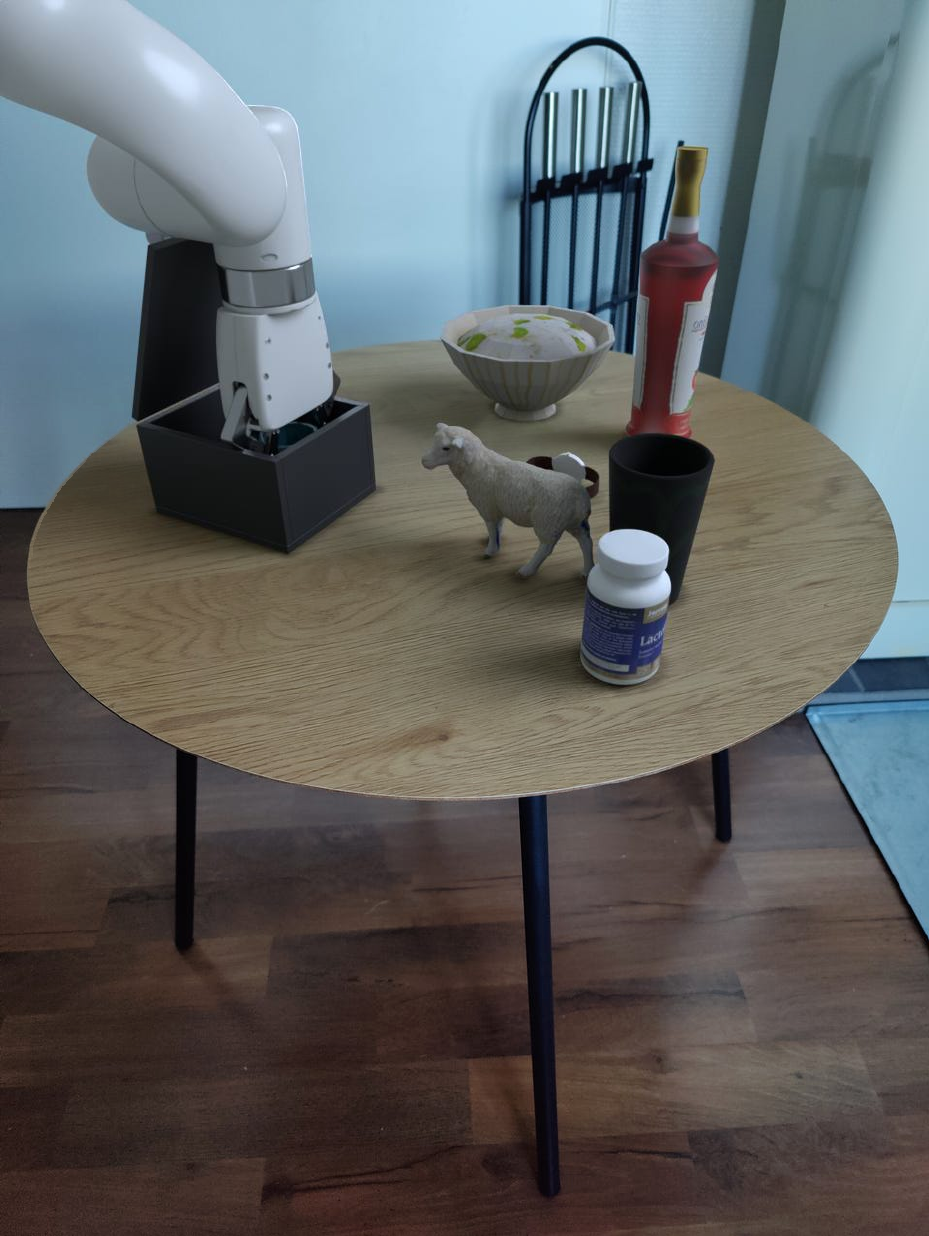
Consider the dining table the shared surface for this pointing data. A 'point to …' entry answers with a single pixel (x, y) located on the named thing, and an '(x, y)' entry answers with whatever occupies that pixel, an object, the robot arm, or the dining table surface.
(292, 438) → the creamer cup
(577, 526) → the figurine
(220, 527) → the dark gray hinged chest
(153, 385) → the chest lid
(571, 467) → the watch
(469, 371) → the bowl
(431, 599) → the dining table surface
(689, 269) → the liquor
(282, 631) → the dining table surface
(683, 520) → the cup
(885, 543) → the dining table surface
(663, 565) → the pill bottle
